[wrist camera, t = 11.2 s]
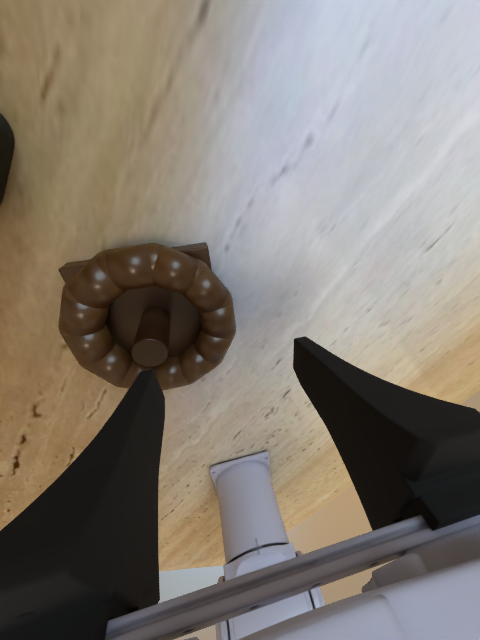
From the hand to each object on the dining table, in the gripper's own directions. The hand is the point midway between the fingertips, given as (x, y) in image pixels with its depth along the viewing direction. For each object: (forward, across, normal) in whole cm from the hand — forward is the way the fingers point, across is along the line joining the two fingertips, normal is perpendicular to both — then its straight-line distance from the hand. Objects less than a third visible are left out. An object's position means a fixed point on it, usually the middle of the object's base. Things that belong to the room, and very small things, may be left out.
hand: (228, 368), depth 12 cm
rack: (+8, +4, 0) cm, 9 cm away
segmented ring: (+5, +4, 0) cm, 7 cm away
